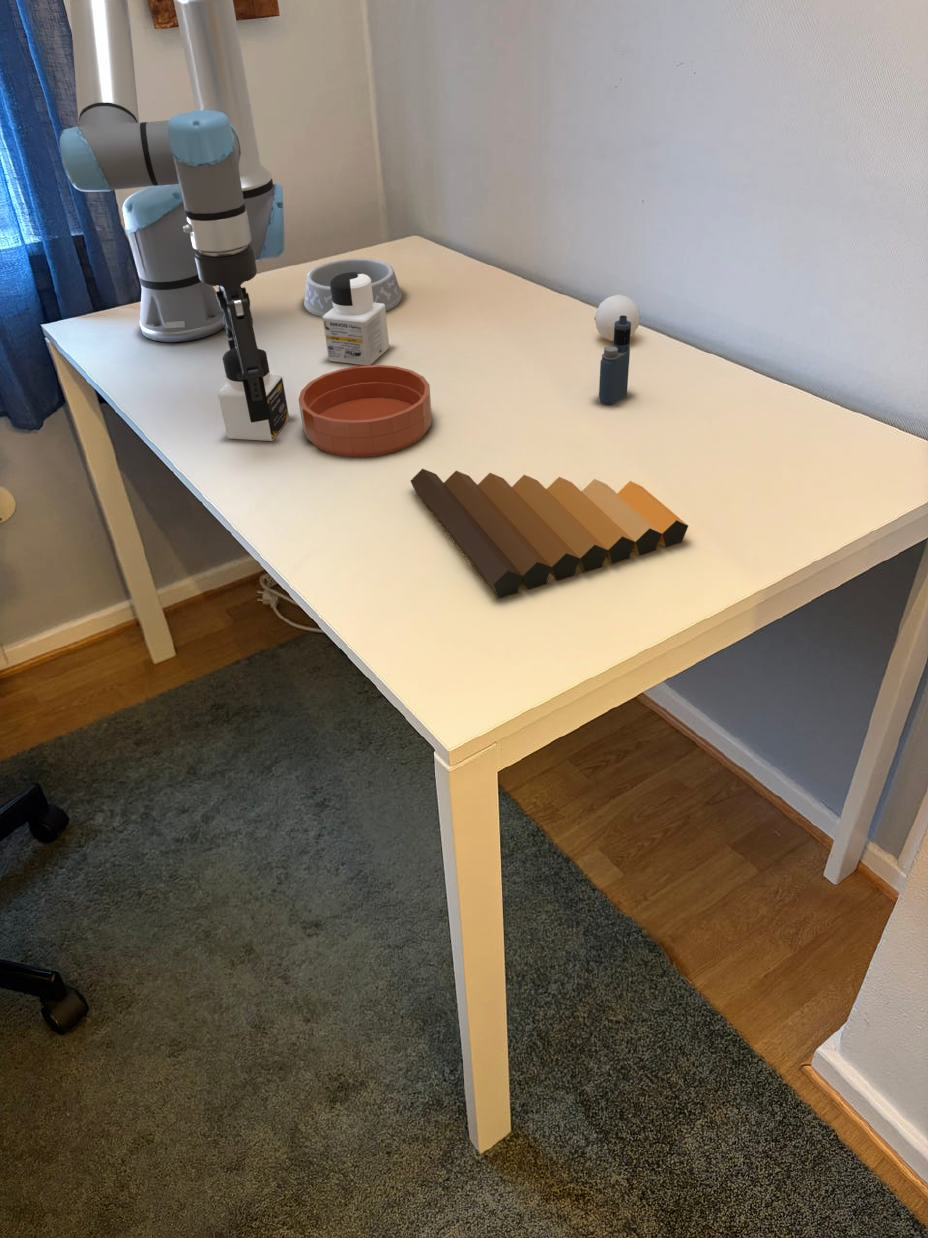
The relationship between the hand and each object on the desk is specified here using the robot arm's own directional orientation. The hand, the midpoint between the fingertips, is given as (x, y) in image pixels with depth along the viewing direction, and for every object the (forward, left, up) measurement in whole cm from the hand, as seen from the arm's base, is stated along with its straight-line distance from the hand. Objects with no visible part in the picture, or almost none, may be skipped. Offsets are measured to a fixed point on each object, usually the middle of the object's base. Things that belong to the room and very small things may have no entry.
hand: (253, 400), depth 136 cm
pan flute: (+38, +29, -5) cm, 48 cm away
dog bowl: (-45, +25, -5) cm, 52 cm away
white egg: (-9, +61, -5) cm, 62 cm away
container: (-20, +20, -5) cm, 29 cm away
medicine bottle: (0, 0, -5) cm, 5 cm away
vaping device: (+12, +51, -5) cm, 53 cm away
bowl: (+6, +15, -5) cm, 17 cm away
